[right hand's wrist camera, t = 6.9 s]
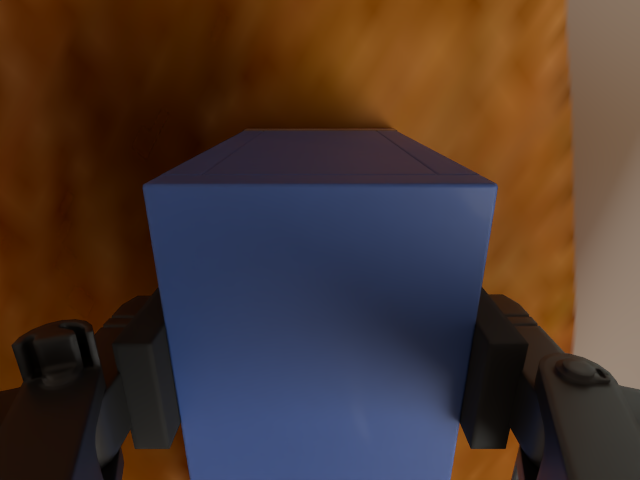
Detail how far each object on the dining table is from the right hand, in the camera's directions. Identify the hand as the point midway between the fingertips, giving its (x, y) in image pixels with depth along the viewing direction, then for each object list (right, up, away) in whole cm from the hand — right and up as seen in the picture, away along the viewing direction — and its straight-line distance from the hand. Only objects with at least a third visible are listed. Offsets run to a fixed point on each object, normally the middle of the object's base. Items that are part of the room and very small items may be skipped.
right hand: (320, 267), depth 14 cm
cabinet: (0, -2, +7) cm, 7 cm away
